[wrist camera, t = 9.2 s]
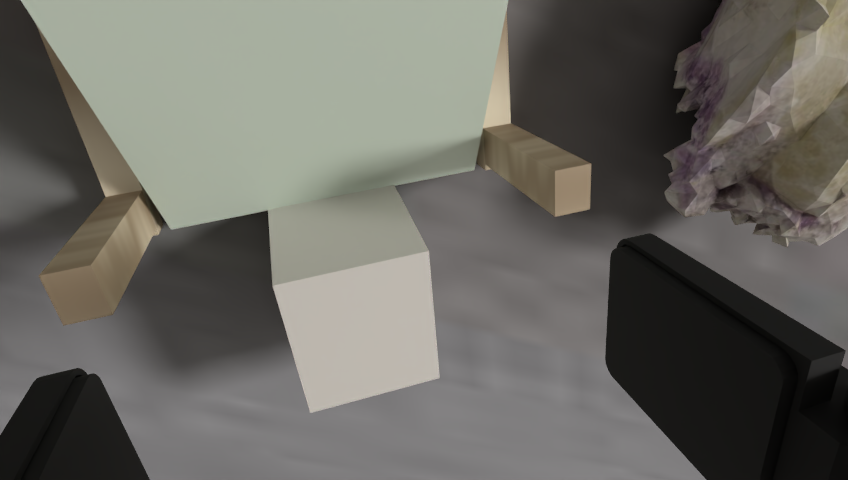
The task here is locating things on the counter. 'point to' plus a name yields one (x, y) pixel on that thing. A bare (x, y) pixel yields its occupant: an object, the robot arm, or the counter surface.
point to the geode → (767, 119)
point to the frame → (140, 220)
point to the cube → (354, 295)
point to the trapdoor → (279, 93)
